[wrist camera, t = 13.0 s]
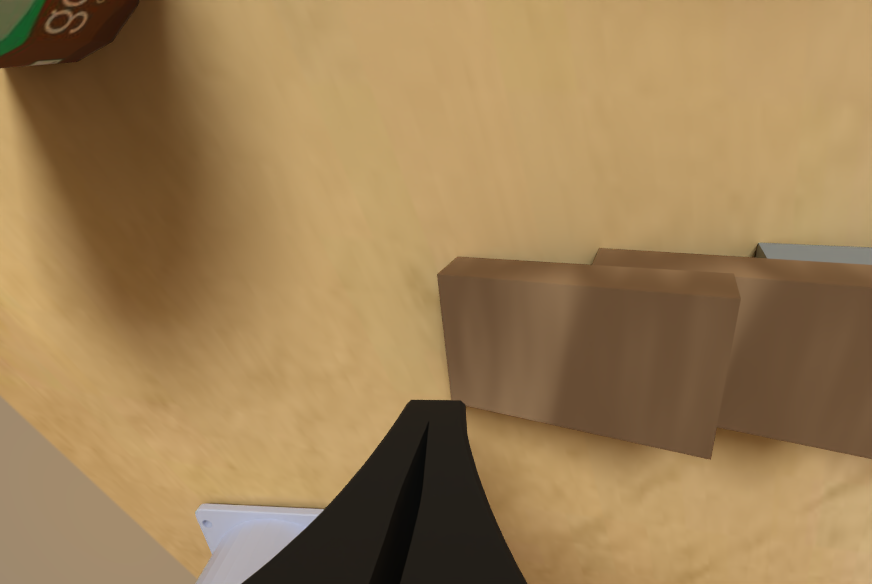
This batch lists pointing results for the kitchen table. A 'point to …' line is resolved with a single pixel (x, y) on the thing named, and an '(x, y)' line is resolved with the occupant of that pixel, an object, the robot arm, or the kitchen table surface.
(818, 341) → the walnut domino
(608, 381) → the walnut domino
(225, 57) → the kitchen table surface
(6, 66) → the food container
